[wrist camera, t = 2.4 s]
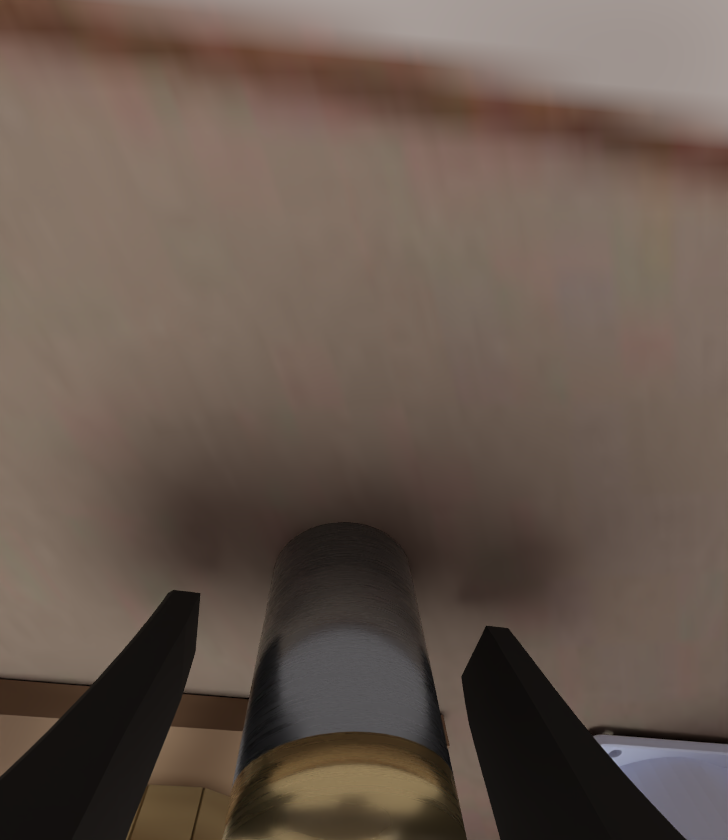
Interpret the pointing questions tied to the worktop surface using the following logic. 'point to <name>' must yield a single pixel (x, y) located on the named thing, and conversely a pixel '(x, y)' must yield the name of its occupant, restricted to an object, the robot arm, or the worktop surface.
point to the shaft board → (176, 765)
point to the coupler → (343, 703)
